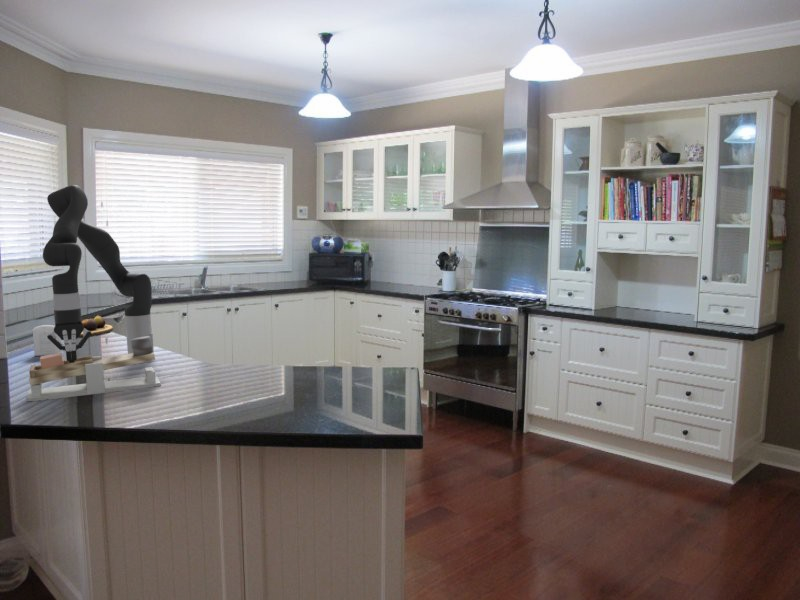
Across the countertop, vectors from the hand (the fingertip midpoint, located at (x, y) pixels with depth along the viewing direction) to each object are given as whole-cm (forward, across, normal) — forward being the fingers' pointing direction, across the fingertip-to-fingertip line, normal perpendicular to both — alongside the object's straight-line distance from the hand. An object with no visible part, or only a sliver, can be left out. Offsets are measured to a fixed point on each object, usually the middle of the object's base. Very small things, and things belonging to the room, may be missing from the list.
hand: (71, 362), depth 210 cm
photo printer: (+10, +10, -73) cm, 74 cm away
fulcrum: (+10, -6, 0) cm, 11 cm away
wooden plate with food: (+10, -1, -128) cm, 129 cm away
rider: (+2, +5, 0) cm, 6 cm away
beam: (+3, -6, 0) cm, 7 cm away
